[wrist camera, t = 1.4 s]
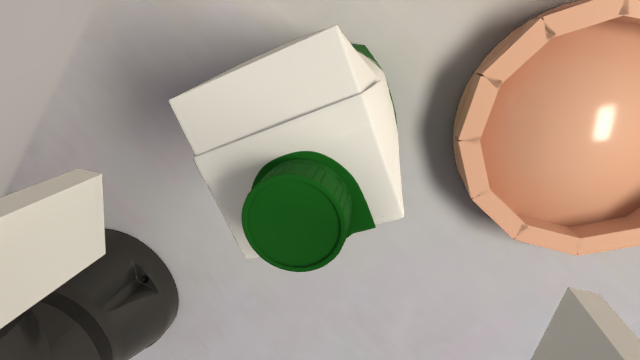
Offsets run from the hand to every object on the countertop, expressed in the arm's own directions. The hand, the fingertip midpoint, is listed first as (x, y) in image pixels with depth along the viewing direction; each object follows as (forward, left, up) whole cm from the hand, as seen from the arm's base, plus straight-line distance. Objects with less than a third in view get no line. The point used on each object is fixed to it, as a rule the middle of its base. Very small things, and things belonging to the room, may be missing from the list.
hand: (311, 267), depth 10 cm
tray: (+17, +3, -23) cm, 28 cm away
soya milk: (-2, +1, -23) cm, 23 cm away
